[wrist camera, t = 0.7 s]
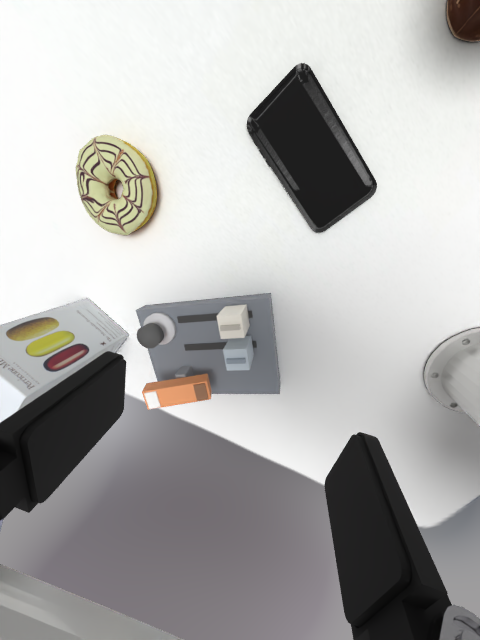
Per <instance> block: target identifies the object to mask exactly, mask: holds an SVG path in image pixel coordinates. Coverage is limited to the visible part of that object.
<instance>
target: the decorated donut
mask: <svg viewBox="0 0 480 640" xmlns="http://www.w3.org/2000/svg"><path fill="white" fill-rule="evenodd" d="M76 176H77V185H78V190H79V194H80V197H81V200H82V203H83V205H84V207H85V209H86V211H87V212H88V214H89V215H90V217H91V218H92V219H93V220H94V221H95V222H96V223H97V224H98V225H99V226H100V227H102V228H103V229H105V230H107V231H108V232H111V233H116V234H122V235H129V234H130V233H131V232H134V231H136V230H138V229H139V228H141V227H142V226H143V225H145V224H146V222H147V221H148V220H149V219H150V218H151V216H152V215H153V213H154V209H155V207H156V202H157V186H156V180H155V177H154V174H153V171H152V168H151V166H150V164H149V162H148V161H147V159H146V158H145V157H144V155H143V154H141V153H140V152H139V151H138V150H137V149H136V148H135V147H133V146H131V145H130V144H129V143H127V142H125V141H123V140H121V139H119V138H116V137H113V136H110V135H101V136H97V137H95V138H93V139H92V140H90V141H89V142H88V143H87V144H86V145H85V146H84V147H83V148H82V149H80V151H79V155H78V162H77V165H76ZM117 180H120V181H121V182H122V185H123V192H122V195H121V198H119V199H117V197H116V195H115V190H114V185H115V182H116V181H117Z"/></svg>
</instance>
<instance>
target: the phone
mask: <svg viewBox="0 0 480 640" xmlns="http://www.w3.org/2000/svg"><path fill="white" fill-rule="evenodd" d="M247 129H248V132H249V134H250V136H251V137H252V139H253V140H254V143H255V144H256V146H258V148H259V149H260V150H259V151H260V152H261V154H262V155H263V157H264V158H266V162H267V163H268V165H269V166H271V168H272V169H273V171H274V172H275V174H276V175H277V177H278V178H279V180H280V181H281V183H282V184H283V186H284V187H285V189H286V190H287V192H288V194H289V195H290V197H291V198H292V200H293V201H294V203H295V204H296V206H297V207H298V209H299V210H300V212H301V213H302V215H303V216H304V218H305V219H306V221H307V222H308V224H309V226H310V227H311V229H312V230H313V231H315V232H323V231H325V230H327V229H328V228H330V227H331V226H332V225H334V224H335V223H336V222H338V221H339V220H341V219H342V218H343V217H345V216H346V215H347V214H349V213H350V212H351V211H353V210H354V209H356V208H357V207H358V206H360V205H361V204H362V203H364V202H365V201H366V200H368V199H369V198H371V197H372V196H373V195H374V193H375V191H376V188H377V183H376V180H375V179H374V177H373V175H372V173H371V172H370V170H369V168H368V166H367V165H366V163H365V161H364V160H363V158H362V156H361V154H360V153H359V151H358V149H357V147H356V146H355V144H354V142H353V141H352V139H351V137H350V135H349V134H348V132H347V130H346V128H345V127H344V125H343V123H342V122H341V120H340V118H339V116H338V115H337V113H336V111H335V109H334V108H333V106H332V104H331V102H330V101H329V99H328V97H327V96H326V94H325V92H324V90H323V89H322V87H321V85H320V83H319V82H318V80H317V78H316V77H315V75H314V73H313V71H312V70H311V68H310V67H309V66H308V65H307V64H305V63H301V64H298V65H296V66H295V67H294V68H293V69H292V70H291V71H290V72H289V73H288V74H287V75H286V76H285V78H284V79H283V80H282V81H281V82H280V83H279V84H278V85H277V86H276V87H275V88H274V89H273V90H272V92H271V93H270V94H269V95H268V96H267V97H266V98H265V99H264V100H263V101H262V102H261V103H260V104H259V106H258V107H257V108H256V109H255V110H254V111H253V112H252V113H251V114H250V116H249V117H248V120H247Z"/></svg>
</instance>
